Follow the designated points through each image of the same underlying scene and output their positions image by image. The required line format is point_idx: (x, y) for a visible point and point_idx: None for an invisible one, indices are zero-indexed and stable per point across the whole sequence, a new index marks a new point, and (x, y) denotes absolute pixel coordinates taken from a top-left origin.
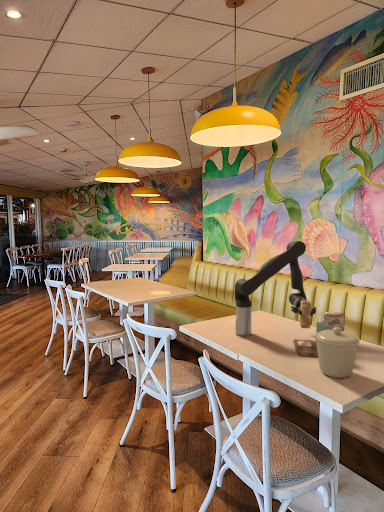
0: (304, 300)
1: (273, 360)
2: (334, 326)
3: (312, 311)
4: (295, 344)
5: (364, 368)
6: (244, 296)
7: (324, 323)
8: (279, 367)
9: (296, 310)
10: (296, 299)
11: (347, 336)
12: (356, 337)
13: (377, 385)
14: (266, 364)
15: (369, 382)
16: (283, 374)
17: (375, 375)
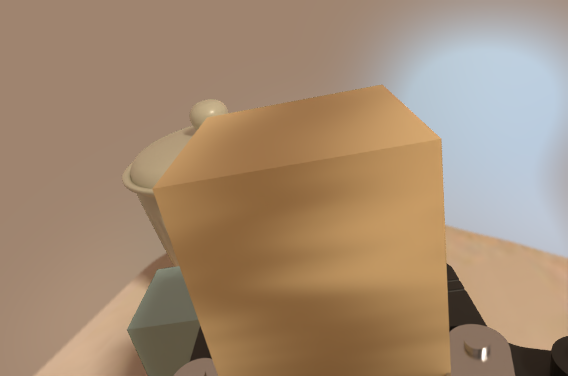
0: (315, 158)
1: (553, 309)
2: None
3: (200, 336)
4: None
5: (110, 351)
6: None
7: (159, 302)
8: (488, 262)
9: (549, 360)
10: None
11: (182, 132)
12: (127, 169)
13: (158, 259)
14: (562, 266)
15: (171, 266)
16: (452, 229)
17: (113, 309)
